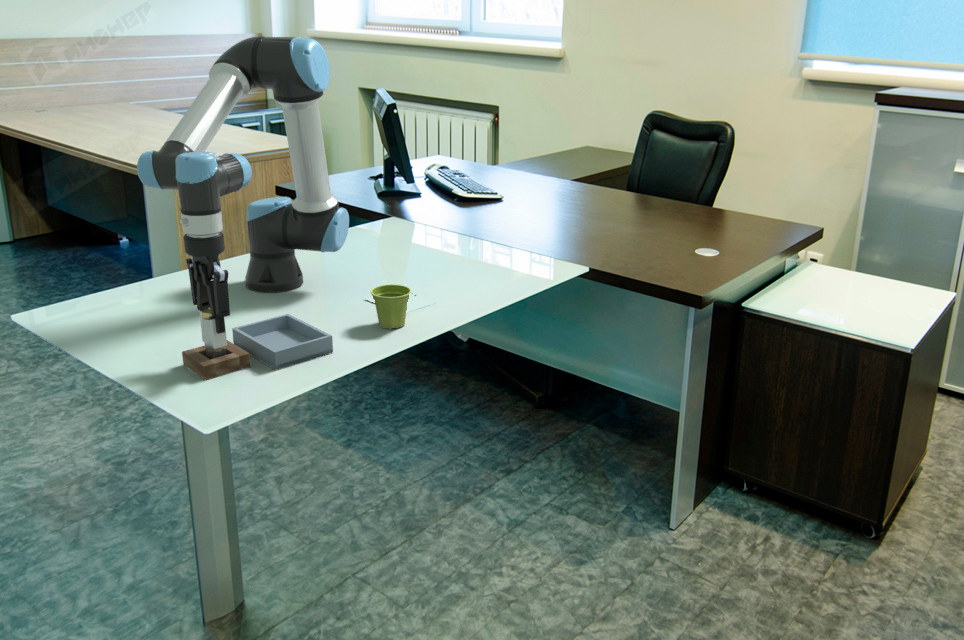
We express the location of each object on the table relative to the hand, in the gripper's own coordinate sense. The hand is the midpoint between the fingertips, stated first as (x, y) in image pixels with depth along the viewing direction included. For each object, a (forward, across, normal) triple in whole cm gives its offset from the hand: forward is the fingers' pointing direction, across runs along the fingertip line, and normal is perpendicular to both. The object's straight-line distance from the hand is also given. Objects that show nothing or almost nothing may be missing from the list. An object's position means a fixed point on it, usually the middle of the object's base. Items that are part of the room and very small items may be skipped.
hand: (214, 342), depth 169 cm
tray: (+5, +1, +15) cm, 16 cm away
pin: (+5, 0, 0) cm, 5 cm away
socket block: (+5, 0, 0) cm, 5 cm away
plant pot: (+5, +5, +42) cm, 43 cm away
